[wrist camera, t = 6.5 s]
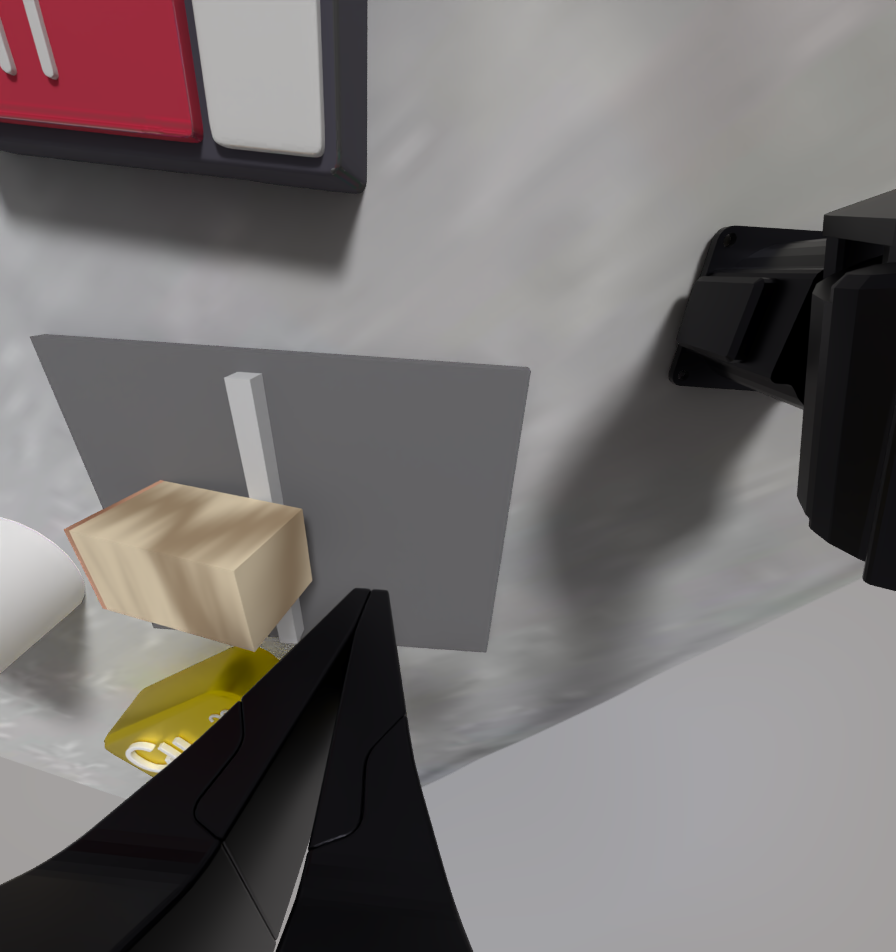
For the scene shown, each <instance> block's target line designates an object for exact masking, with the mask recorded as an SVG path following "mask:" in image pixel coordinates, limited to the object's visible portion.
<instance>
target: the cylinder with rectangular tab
mask: <svg viewBox="0 0 896 952" xmlns="http://www.w3.org/2000/svg"><path fill="white" fill-rule="evenodd" d="M84 595H85V584H84V580H83V578H82V575H81V573H80V571H79V569H78V567H77V566H76V565H75V564H74V562H73V561H72V560H71V558H70V557H69V556H68V555H67V554H66V553H65V552H64V551H63V550H62V549H61V548H59V547H58V546H57V545H56V544H55V543H54V542H52V541H51V540H49V539H48V538H46V537H45V536H43V535H42V534H40V533H39V532H37V531H35V530H33V529H31V528H29V527H27V526H25V525H22V524H20V523H18V522H15V521H12V520H9V519H5V518H2V517H0V673H1V672H3V671H4V670H5V669H6V668H7V667H8V666H10V665H11V664H12V663H13V662H14V661H15V660H16V659H18V658H19V657H20V656H21V655H22V654H23V653H25V652H26V651H27V650H28V649H29V648H30V647H31V646H33V645H34V644H35V643H36V642H37V641H38V640H40V639H41V638H42V637H43V636H44V635H45V634H46V633H48V632H49V631H50V630H51V629H52V628H53V627H55V626H56V625H57V624H58V623H59V622H60V621H61V620H63V619H64V618H65V617H66V616H67V615H68V614H70V613H71V612H72V611H73V610H74V609H75V608H76V607H77V606H79V605H80V604H81V603H82V601H83V598H84Z"/></svg>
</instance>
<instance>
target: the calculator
mask: <svg viewBox="0 0 896 952" xmlns="http://www.w3.org/2000/svg"><path fill="white" fill-rule="evenodd" d="M0 150H2V151H6V152H10V153H15V154H21V155H30V156H38V157H47V158H55V159H64V160H73V161H81V162H90V163H99V164H108V165H117V166H126V167H135V168H144V169H153V170H162V171H171V172H180V173H189V174H199V175H208V176H217V177H226V178H235V179H244V180H251V181H257V182H263V183H268V184H275V185H283V186H292V187H300V188H309V189H317V190H326V191H334V192H343V193H353V194H358V193H361V192H362V191H363V190H364V189H365V187H366V182H367V0H0Z"/></svg>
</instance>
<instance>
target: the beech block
mask: <svg viewBox="0 0 896 952" xmlns="http://www.w3.org/2000/svg"><path fill="white" fill-rule="evenodd" d="M64 531H65V533H66V535H67V537H68V539H69V541H70V543H71V545H72V547H73V549H74V551H75V553H76V555H77V557H78V559H79V561H80V563H81V565H82V567H83V569H84V571H85V573H86V575H87V577H88V579H89V581H90V583H91V586H92V588H93V590H94V592H95V594H96V596H97V598H98V600H99V602H100V604H101V606H102V608H103V609H107V610H110V611H114V612H117V613H121V614H124V615H128V616H131V617H135V618H138V619H142V620H145V621H149V622H152V623H156V624H159V625H163V626H166V627H170V628H173V629H177V630H180V631H183V632H187V633H190V634H194V635H197V636H201V637H204V638H208V639H211V640H215V641H218V642H222V643H225V644H229V645H232V646H236V647H239V648H243V649H246V650H250V651H253V652H255V651H256V650H257V649H258V647H259V646H260V645H261V644H262V642H263V641H264V640H265V639H266V637H267V636H268V635H269V634H270V633H271V631H272V630H273V629H274V628H275V626H276V625H277V624H278V623H279V621H280V620H281V619H282V618H283V616H284V615H285V614H286V613H287V611H288V610H289V609H290V608H291V607H292V605H293V604H294V603H295V602H296V600H297V599H298V598H299V597H300V595H301V594H302V593H303V592H304V590H305V589H306V588H307V587H308V585H309V584H310V583H311V582H312V574H311V567H310V560H309V553H308V546H307V538H306V531H305V524H304V517H303V510H302V509H301V508H296V507H291V506H286V505H281V504H276V503H271V502H266V501H261V500H256V499H252V498H247V497H242V496H237V495H232V494H227V493H222V492H217V491H212V490H207V489H202V488H197V487H192V486H187V485H182V484H177V483H172V482H167V481H162V480H160V481H158V482H156V483H154V484H152V485H150V486H148V487H146V488H144V489H142V490H140V491H138V492H136V493H134V494H132V495H130V496H128V497H126V498H124V499H122V500H120V501H118V502H117V503H115V504H113V505H111V506H109V507H107V508H105V509H103V510H101V511H99V512H97V513H95V514H93V515H91V516H89V517H87V518H85V519H83V520H81V521H79V522H77V523H75V524H73V525H71V526H70V527H68V528H66V529H64Z"/></svg>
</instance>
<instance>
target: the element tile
mask: <svg viewBox="0 0 896 952" xmlns="http://www.w3.org/2000/svg"><path fill="white" fill-rule="evenodd" d="M278 662H279V660H278V659H277V658H276V657H275V656H273V655H272V654H271V653H270V652H268V651H266V650H264V649H262V648H259V647H258V649H257V650H256V651H255V652H253V651H250V650H246V649H243V648H239V647H236V646H235V647H232V648H229V649H227V650H225V651H223V652H221V653H219V654H217V655H214V656H212V657H210V658H208V659H206V660H204V661H202V662H200V663H197V664H195V665H193V666H191V667H189V668H187V669H185V670H182V671H180V672H178V673H176V674H174V675H172V676H170V677H168V678H165V679H163V680H161V681H159V682H157V683H155V684H153V685H150V686H148V687H146V688H144V689H143V690H142V691H141V692H140V693H139V694H138V696H137V697H136V698H135V699H134V701H133V702H132V703H131V705H130V706H129V707H128V708H127V710H126V711H125V712H124V714H123V715H122V716H121V718H120V719H119V720H118V721H117V723H116V724H115V725H114V727H113V728H112V729H111V731H110V732H109V733H108V734H107V736H106V738H105V740H104V742H105V749H106V750H108V751H109V752H111V753H112V754H114V755H115V756H117V757H119V758H121V759H122V760H124V761H126V762H128V763H129V764H131V765H133V766H135V767H136V768H138V769H140V770H142V771H143V772H145V773H147V774H149V775H150V776H152V777H154V776H155V775H156V774H158V773H159V772H160V771H161V770H162V769H164V768H165V767H166V766H167V765H168V764H170V763H171V762H172V761H173V760H174V759H175V758H177V757H178V756H179V755H180V754H181V753H182V752H183V751H185V750H186V749H187V748H188V747H189V746H190V745H192V744H193V743H194V742H195V741H196V740H197V739H198V738H200V737H201V736H202V735H203V734H204V733H205V732H206V731H207V730H208V729H209V728H210V727H211V726H212V725H213V724H214V723H216V722H217V721H218V720H219V719H220V718H221V717H222V716H223V715H224V714H225V713H226V712H227V711H228V710H229V709H230V708H231V707H232V706H233V705H234V704H235V703H236V702H237V701H241V698H242V697H243V696H244V695H245V694H246V693H247V692H248V691H249V690H250V689H251V688H252V687H253V686H254V685H255V684H256V683H257V682H258V681H259V680H260V679H261V678H262V677H263V676H264V675H265V674H266V673H267V672H268V671H269V670H270V669H271V668H273V667H274V666H275V665H276V664H277V663H278Z"/></svg>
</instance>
